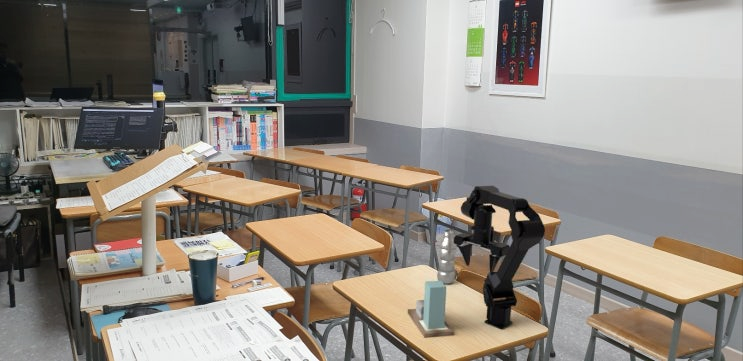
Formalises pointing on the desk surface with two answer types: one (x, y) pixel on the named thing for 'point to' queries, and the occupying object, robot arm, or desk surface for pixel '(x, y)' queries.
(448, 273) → the silver ribbed bottle
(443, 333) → the base plate
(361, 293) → the desk surface
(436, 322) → the pillar block
